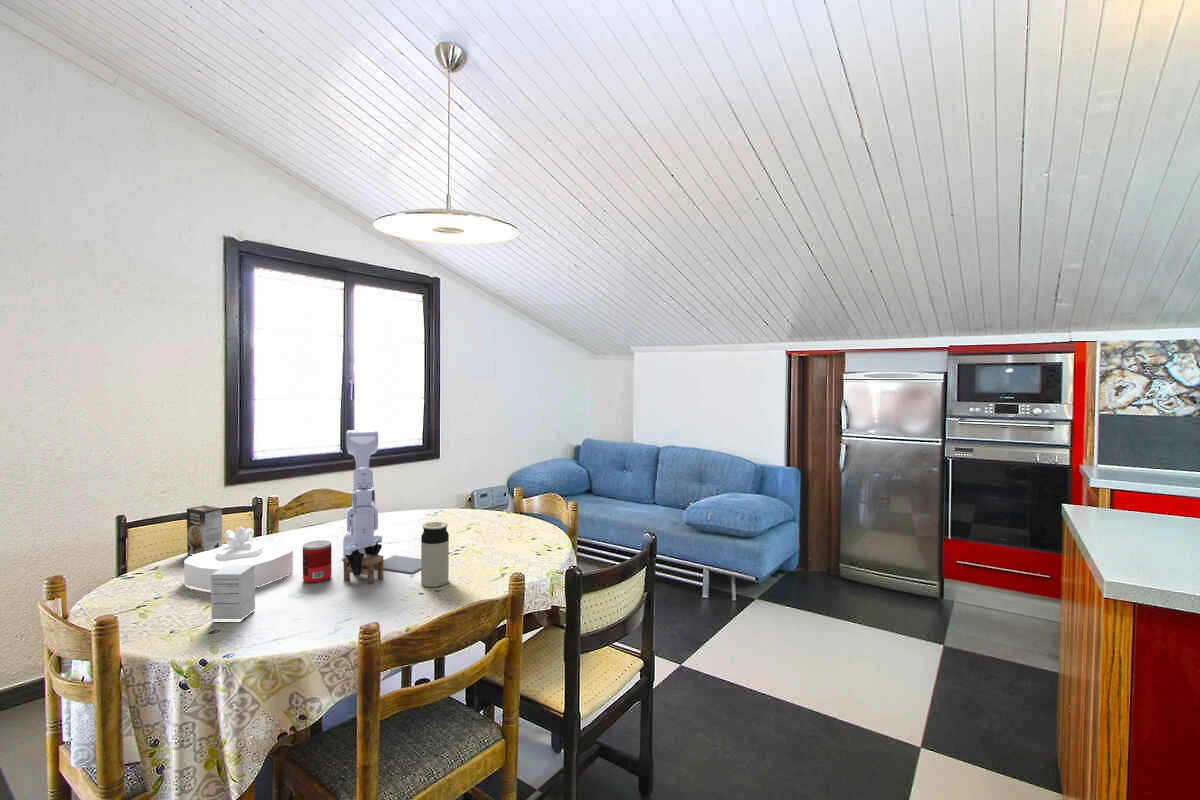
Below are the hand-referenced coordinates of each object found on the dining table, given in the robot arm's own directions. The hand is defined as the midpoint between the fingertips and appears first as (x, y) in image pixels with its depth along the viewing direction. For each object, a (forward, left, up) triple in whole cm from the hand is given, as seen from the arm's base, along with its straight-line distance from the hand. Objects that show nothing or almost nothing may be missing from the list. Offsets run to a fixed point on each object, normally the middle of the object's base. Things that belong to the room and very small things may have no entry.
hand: (363, 571), depth 179 cm
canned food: (-13, -5, -3) cm, 14 cm away
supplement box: (-12, -34, -3) cm, 36 cm away
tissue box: (-36, -12, -3) cm, 38 cm away
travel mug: (+22, +5, -3) cm, 23 cm away
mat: (+3, +15, -2) cm, 15 cm away
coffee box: (-66, 0, -3) cm, 66 cm away
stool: (0, 0, -2) cm, 2 cm away
